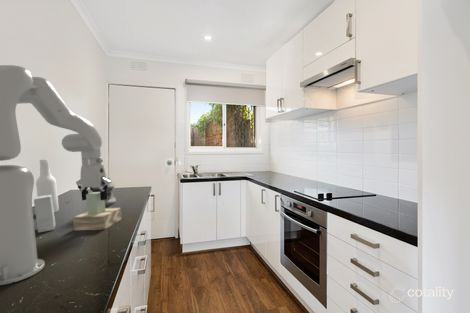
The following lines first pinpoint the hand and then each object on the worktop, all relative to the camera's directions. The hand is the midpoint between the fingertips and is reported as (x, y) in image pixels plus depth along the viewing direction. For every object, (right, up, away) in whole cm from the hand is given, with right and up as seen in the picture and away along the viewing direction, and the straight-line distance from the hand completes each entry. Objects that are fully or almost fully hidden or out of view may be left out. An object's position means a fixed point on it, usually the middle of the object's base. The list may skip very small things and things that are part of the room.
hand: (94, 199), depth 110 cm
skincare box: (-20, -13, -2) cm, 24 cm away
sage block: (+1, -6, +1) cm, 6 cm away
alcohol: (-40, -12, +26) cm, 49 cm away
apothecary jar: (-7, -11, +22) cm, 26 cm away
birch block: (+1, -12, +2) cm, 12 cm away
